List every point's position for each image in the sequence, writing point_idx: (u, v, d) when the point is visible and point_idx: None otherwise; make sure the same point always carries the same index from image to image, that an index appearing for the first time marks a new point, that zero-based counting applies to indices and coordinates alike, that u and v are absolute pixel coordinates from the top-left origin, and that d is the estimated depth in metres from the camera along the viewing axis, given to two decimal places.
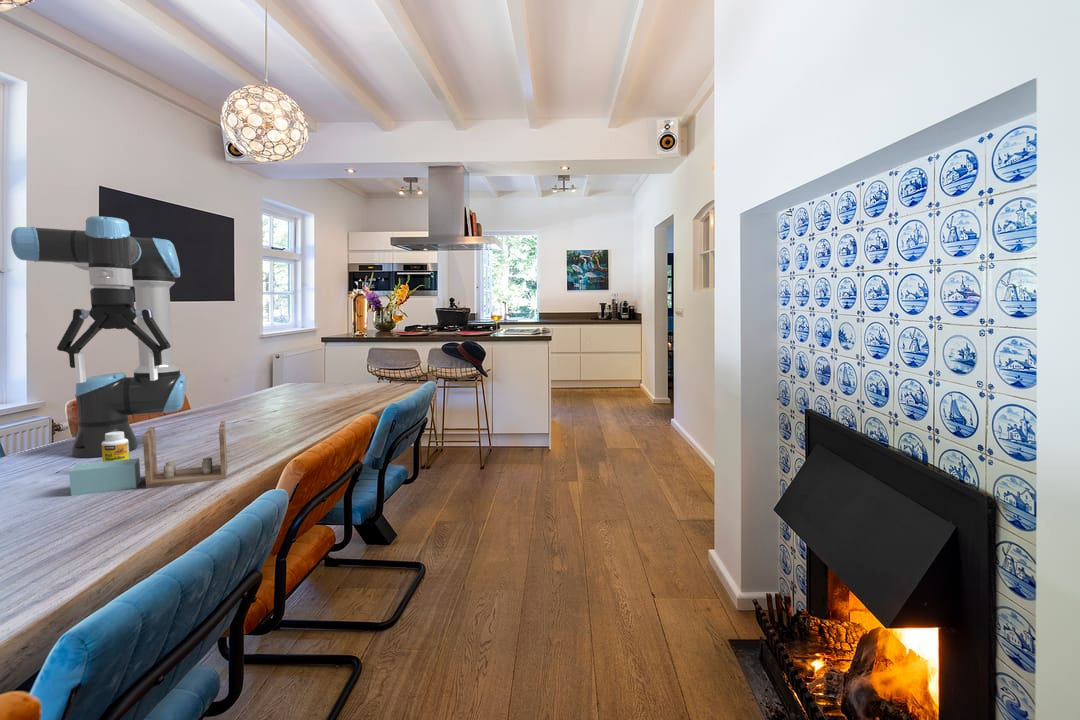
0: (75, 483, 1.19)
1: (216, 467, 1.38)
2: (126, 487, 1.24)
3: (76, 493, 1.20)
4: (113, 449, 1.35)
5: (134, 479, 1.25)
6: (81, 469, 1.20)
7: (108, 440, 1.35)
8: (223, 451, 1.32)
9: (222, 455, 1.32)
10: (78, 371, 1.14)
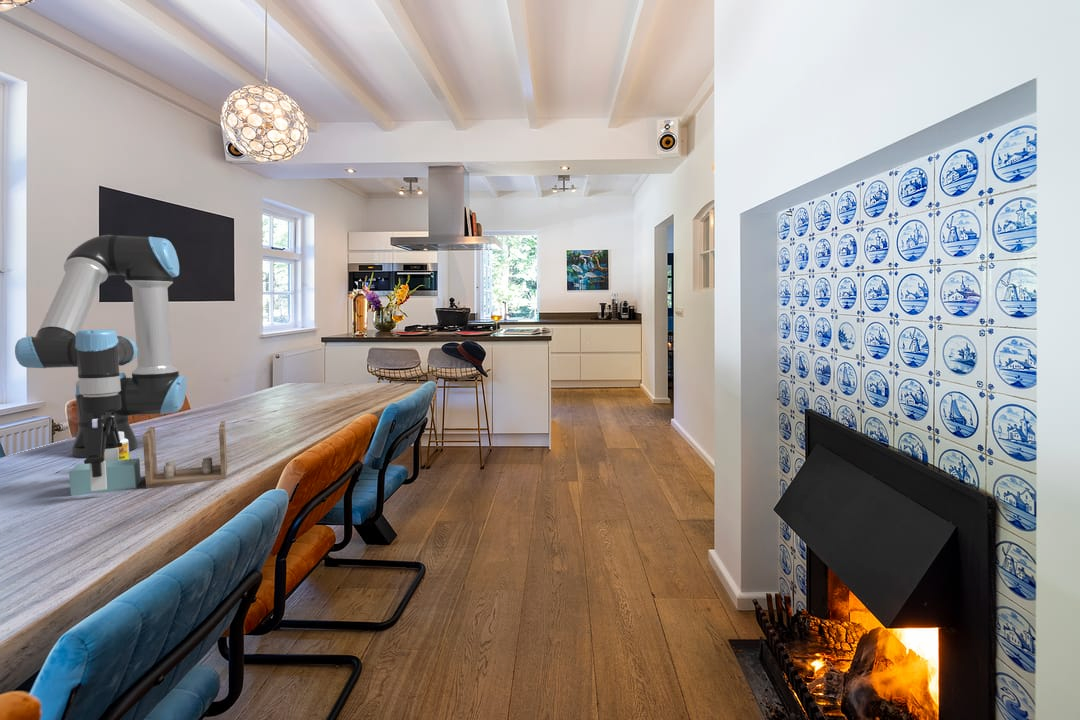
0: (74, 483, 1.19)
1: (216, 467, 1.38)
2: (126, 487, 1.24)
3: (76, 493, 1.20)
4: None
5: (134, 479, 1.25)
6: (81, 469, 1.20)
7: None
8: (223, 451, 1.32)
9: (222, 455, 1.32)
10: None
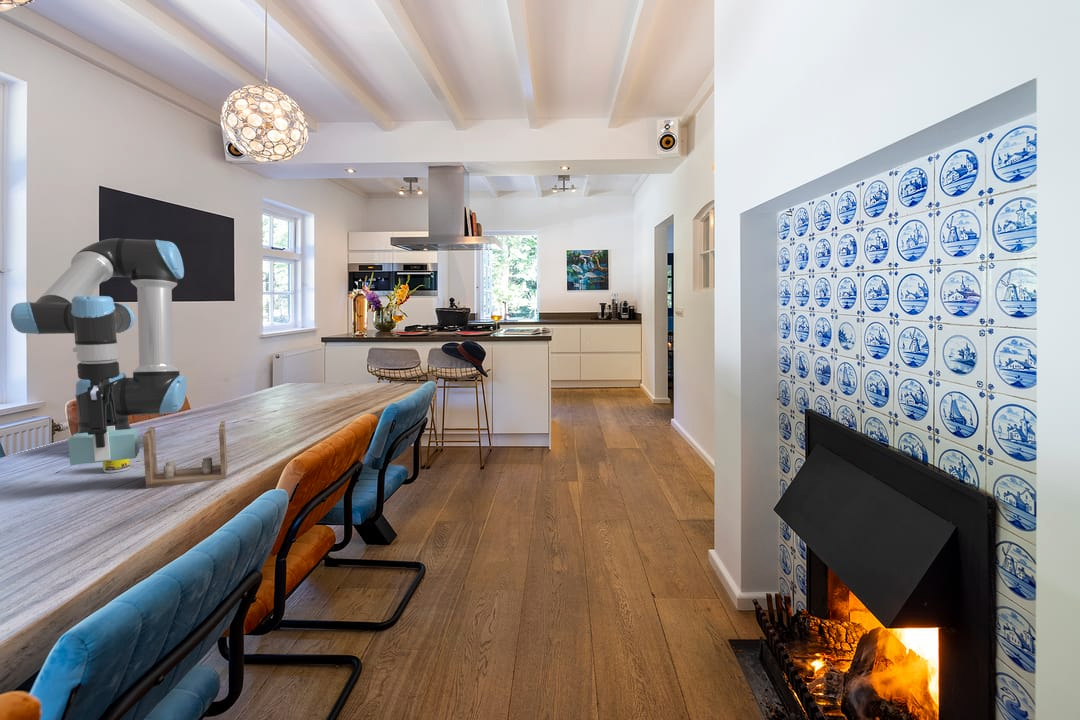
0: (74, 452, 1.19)
1: (216, 467, 1.38)
2: (125, 456, 1.24)
3: (75, 462, 1.19)
4: None
5: (133, 449, 1.25)
6: (80, 438, 1.20)
7: None
8: (223, 451, 1.32)
9: (222, 455, 1.32)
10: None
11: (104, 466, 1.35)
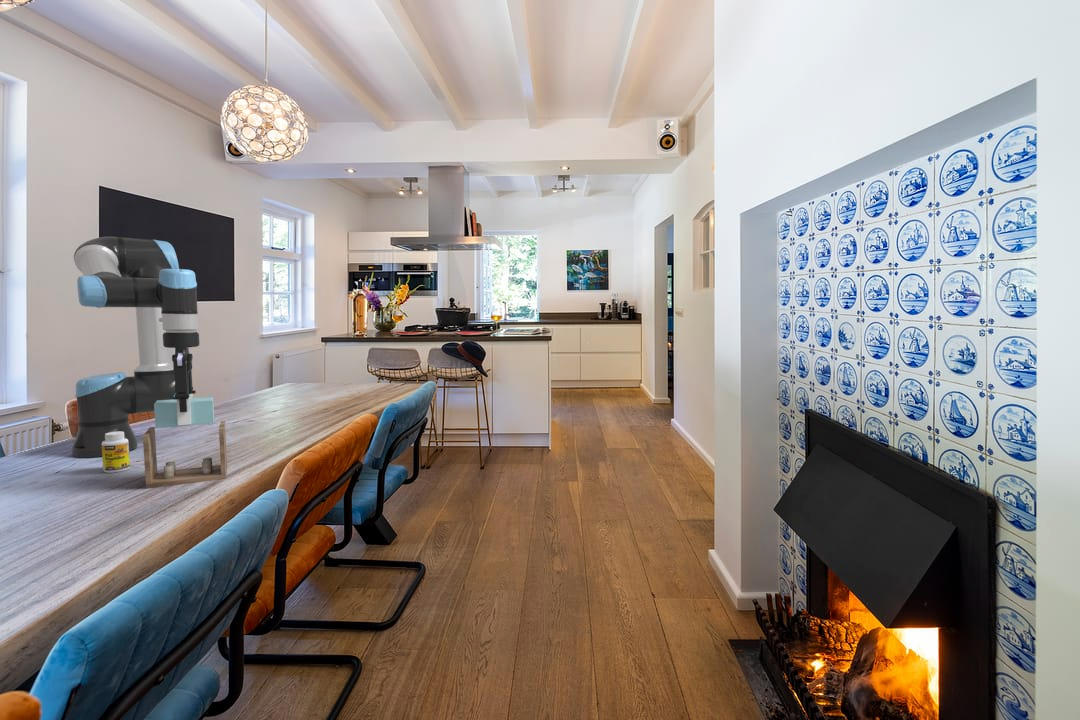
0: (159, 416, 1.26)
1: (216, 467, 1.38)
2: (204, 422, 1.31)
3: (160, 425, 1.26)
4: (113, 449, 1.35)
5: (212, 414, 1.32)
6: (164, 403, 1.27)
7: (108, 440, 1.35)
8: (223, 451, 1.32)
9: (222, 455, 1.32)
10: None
11: (104, 466, 1.35)
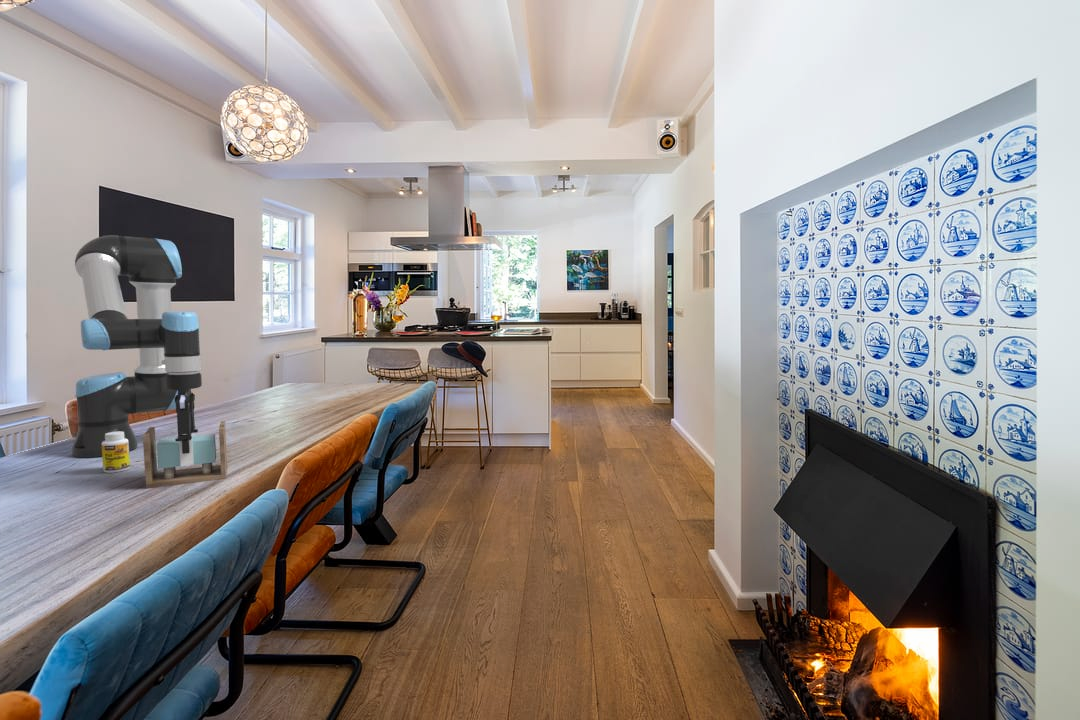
0: (161, 456, 1.27)
1: (216, 467, 1.38)
2: (207, 461, 1.32)
3: (162, 466, 1.27)
4: (113, 449, 1.35)
5: (214, 453, 1.33)
6: (166, 443, 1.28)
7: (108, 440, 1.35)
8: (223, 451, 1.32)
9: (222, 455, 1.32)
10: None
11: (104, 466, 1.35)
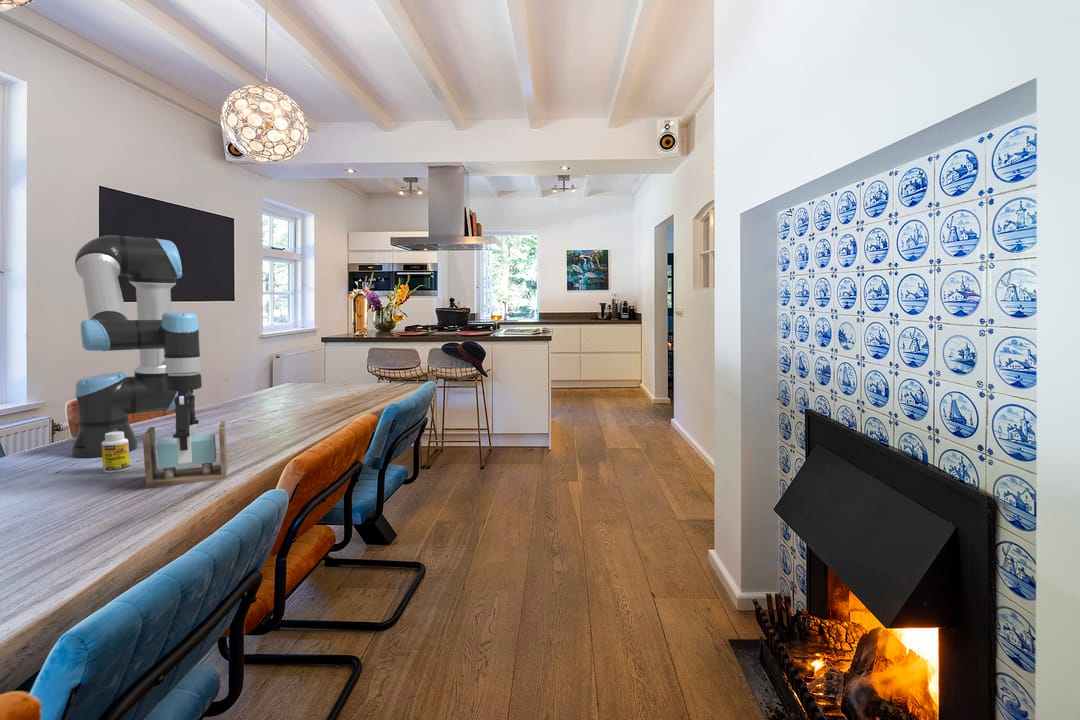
0: (161, 456, 1.27)
1: (216, 467, 1.38)
2: (207, 461, 1.32)
3: (162, 466, 1.27)
4: (113, 449, 1.35)
5: (214, 453, 1.33)
6: (166, 443, 1.28)
7: (108, 440, 1.35)
8: (223, 451, 1.32)
9: (222, 455, 1.32)
10: None
11: (104, 466, 1.35)
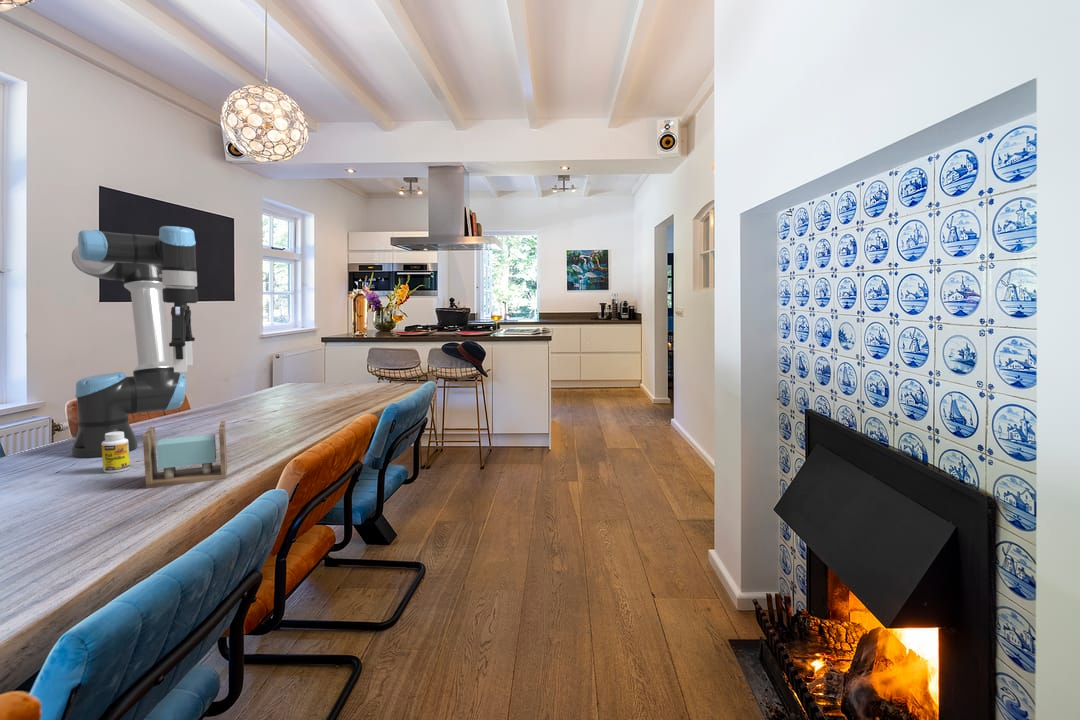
0: (161, 456, 1.27)
1: (216, 467, 1.38)
2: (207, 461, 1.32)
3: (162, 466, 1.27)
4: (113, 449, 1.35)
5: (214, 453, 1.33)
6: (166, 443, 1.28)
7: (108, 440, 1.35)
8: (223, 451, 1.32)
9: (222, 455, 1.32)
10: None
11: (104, 466, 1.35)
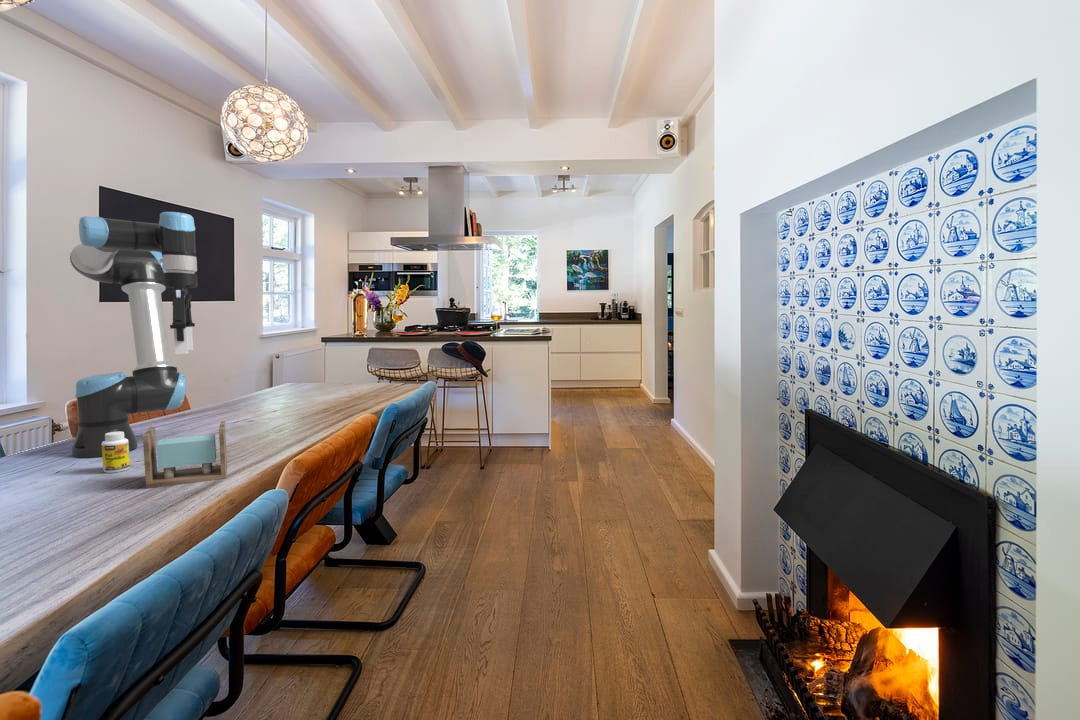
0: (161, 456, 1.27)
1: (216, 467, 1.38)
2: (207, 461, 1.32)
3: (162, 466, 1.27)
4: (113, 449, 1.35)
5: (214, 453, 1.33)
6: (166, 443, 1.28)
7: (108, 440, 1.35)
8: (223, 451, 1.32)
9: (222, 455, 1.32)
10: None
11: (104, 466, 1.35)
